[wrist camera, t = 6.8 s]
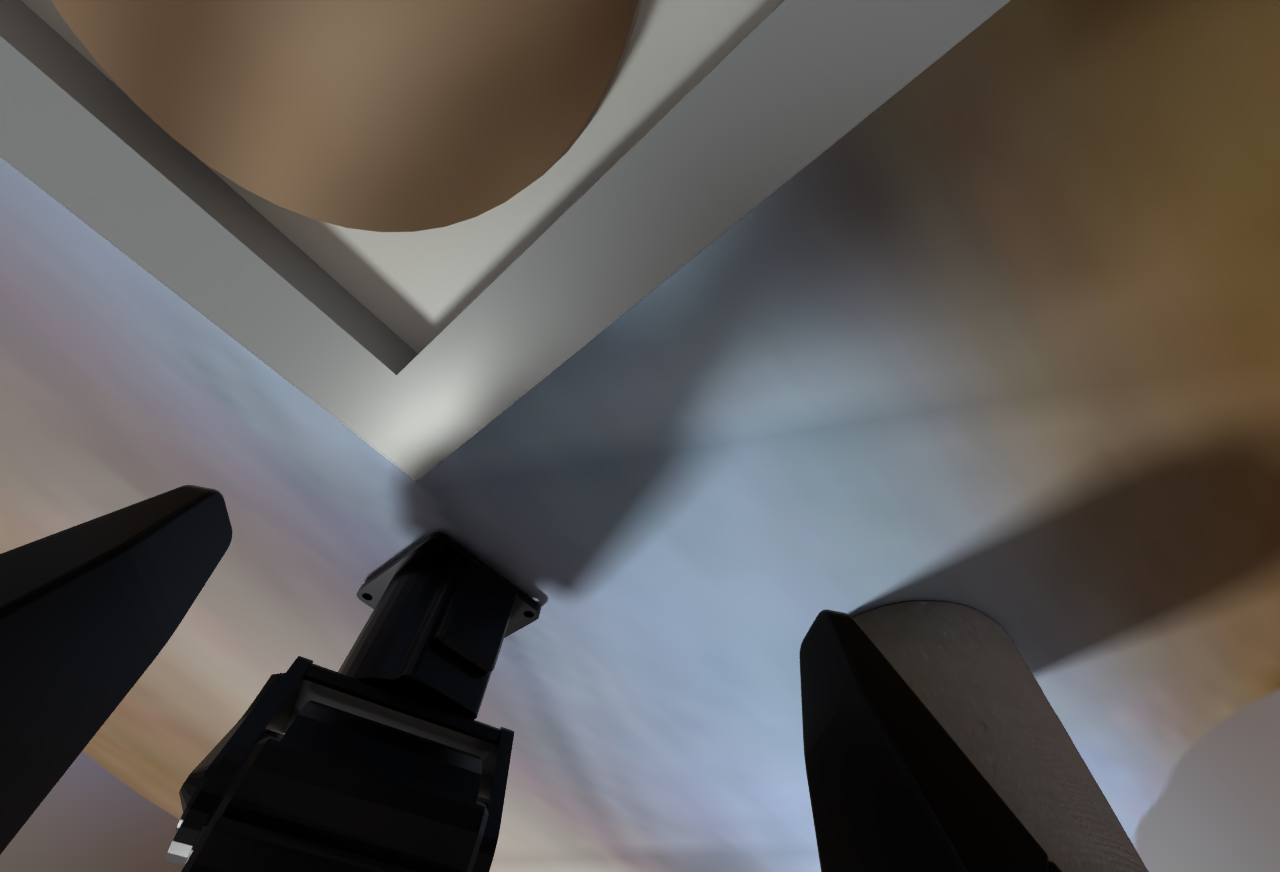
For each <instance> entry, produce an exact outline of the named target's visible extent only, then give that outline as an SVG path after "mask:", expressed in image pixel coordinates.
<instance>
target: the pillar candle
mask: <svg viewBox="0 0 1280 872" xmlns="http://www.w3.org/2000/svg"><path fill="white" fill-rule="evenodd" d="M853 619H854V620H855V621H856V622H857V623H858V625H859V626H860V627H861V628H862V629H863V631H864V632H865V633H866V634H867V636H868V637H869V638H870V639H871V640H872V642H873V643H874V644H875V645H876V646H877V648H878V649H879V650H880V651H881V653H882V654H883V655H884V656H885V657H886V659H887V660H888V661H889V662H890V663H891V665H892V666H893V667H894V668H895V670H896V671H897V672H898V673H899V674H900V676H901V677H902V678H903V679H904V680H905V682H906V683H907V684H908V685H909V687H910V688H911V689H912V690H913V691H914V693H915V694H916V695H917V696H918V697H919V699H920V700H921V701H922V702H923V704H924V705H925V706H926V707H927V708H928V710H929V711H930V712H931V713H932V714H933V716H934V717H935V718H936V719H937V721H938V722H939V723H940V724H941V725H942V727H943V728H944V729H945V730H946V731H947V733H948V734H949V735H950V736H951V738H952V739H953V740H954V741H955V742H956V744H957V745H958V746H959V747H960V748H961V750H962V751H963V752H964V753H965V755H966V756H967V757H968V758H969V759H970V761H971V762H972V763H973V764H974V766H975V767H976V768H977V769H978V770H979V772H980V773H981V774H982V775H983V776H984V778H985V779H986V780H987V781H988V783H989V784H990V785H991V786H992V787H993V789H994V790H995V791H996V792H997V793H998V795H999V796H1000V797H1001V798H1002V800H1003V801H1004V802H1005V803H1006V804H1007V806H1008V807H1009V808H1010V809H1011V810H1012V812H1013V813H1014V814H1015V815H1016V817H1017V818H1018V819H1019V820H1020V821H1021V823H1022V824H1023V825H1024V826H1025V827H1026V829H1027V830H1028V831H1029V832H1030V834H1031V835H1032V836H1033V837H1034V838H1035V840H1036V841H1037V842H1038V843H1039V844H1040V846H1041V847H1042V848H1043V849H1044V851H1045V852H1046V853H1047V855H1048V858H1049V861H1053V862H1054V863H1055V864H1056V865H1057V866H1058V867H1059V868H1060V870H1061V871H1062V872H1149V871H1148V870H1147V868H1146V867H1145V865H1144V863H1143V861H1142V860H1141V858H1140V856H1139V854H1138V853H1137V851H1136V849H1135V848H1134V846H1133V844H1132V843H1131V841H1130V839H1129V838H1128V836H1127V834H1126V832H1125V831H1124V829H1123V827H1122V825H1121V824H1120V822H1119V820H1118V818H1117V817H1116V815H1115V813H1114V812H1113V810H1112V808H1111V806H1110V805H1109V803H1108V801H1107V799H1106V798H1105V796H1104V794H1103V793H1102V791H1101V789H1100V788H1099V786H1098V784H1097V783H1096V781H1095V779H1094V778H1093V776H1092V774H1091V772H1090V771H1089V769H1088V767H1087V766H1086V764H1085V762H1084V760H1083V759H1082V757H1081V755H1080V754H1079V752H1078V751H1077V749H1076V747H1075V745H1074V744H1073V742H1072V740H1071V738H1070V736H1069V735H1068V733H1067V731H1066V730H1065V728H1064V726H1063V725H1062V723H1061V721H1060V719H1059V718H1058V716H1057V715H1056V713H1055V712H1054V710H1053V708H1052V707H1051V705H1050V703H1049V702H1048V700H1047V698H1046V697H1045V695H1044V693H1043V691H1042V689H1041V687H1040V686H1039V684H1038V682H1037V681H1036V679H1035V677H1034V676H1033V674H1032V673H1031V672H1030V670H1029V669H1028V667H1027V665H1026V664H1025V662H1024V660H1023V658H1022V657H1021V655H1020V653H1019V651H1018V649H1017V647H1016V645H1015V643H1014V642H1013V640H1012V639H1011V638H1010V636H1009V635H1008V634H1007V633H1006V632H1005V630H1004V629H1003V628H1002V627H1001V626H1000V625H999V624H997V623H996V622H995V621H993V620H992V619H990V618H988V617H987V616H985V615H984V614H982V613H981V612H979V611H977V610H974V609H972V608H970V607H967V606H963V605H960V604H955V603H950V602H941V601H910V602H902V603H898V604H893V605H888V606H883V607H880V608H878V609H876V610H871V611H868V612H866V613H863V614H860V615H857V616H855V617H853Z"/></svg>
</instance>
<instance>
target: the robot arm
mask: <svg viewBox="0 0 1280 872" xmlns="http://www.w3.org/2000/svg"><path fill="white" fill-rule="evenodd" d="M231 539H232V527H231V523H230V520H229V516H228V512H227V508H226V505H225V501H224V498H223V495H222V494H221V493H220V492H219V491H217V490H215V489H210V488H205V487H200V486H194V485H186V486H182V487H179V488H176V489H173V490H171V491H168V492H165V493H163V494H160V495H157V496H155V497H152V498H149V499H147V500H144V501H141V502H139V503H136V504H133V505H130V506H128V507H125V508H122V509H120V510H117V511H114V512H112V513H109V514H106V515H104V516H101V517H98V518H96V519H93V520H90V521H88V522H85V523H82V524H80V525H77V526H74V527H72V528H69V529H66V530H64V531H61V532H58V533H55V534H53V535H50V536H47V537H45V538H42V539H39V540H37V541H34V542H31V543H29V544H26V545H23V546H21V547H18V548H15V549H13V550H10V551H7V552H5V553H2V554H0V854H1V853H2V852H3V851H4V849H5V848H6V847H7V845H8V844H9V842H11V840H12V839H13V838H14V837H15V835H16V834H17V833H18V831H19V830H20V829H21V828H22V826H23V825H24V824H25V822H26V821H27V820H28V819H29V817H30V816H31V815H32V814H33V812H34V811H35V810H36V809H37V807H38V806H39V805H40V803H41V802H42V801H43V800H44V798H45V797H46V796H47V795H48V793H49V792H50V791H51V789H52V788H53V787H54V786H55V785H56V783H57V782H58V781H59V779H60V778H61V777H62V776H63V774H64V773H65V772H66V771H67V769H68V768H69V767H70V765H71V764H72V763H73V762H74V760H75V759H76V758H77V757H78V755H79V754H80V753H81V752H82V750H83V749H84V748H85V746H86V745H87V744H88V743H89V741H90V740H91V739H92V738H93V736H94V735H95V734H96V733H97V731H98V730H99V729H100V727H101V726H102V725H103V724H104V722H105V721H106V720H107V719H108V717H109V716H110V715H111V714H112V712H113V711H114V710H115V708H116V707H117V706H118V705H119V703H120V702H121V701H122V700H123V698H124V697H125V696H126V694H127V693H128V692H129V691H130V689H131V688H132V687H133V686H134V684H135V683H136V682H137V681H138V679H139V678H140V677H141V675H142V674H143V673H144V672H145V670H146V669H147V668H148V667H149V665H150V664H151V663H152V662H153V660H154V659H155V658H156V656H157V655H158V654H159V652H160V651H161V650H162V648H163V647H164V646H165V644H166V643H167V642H168V640H169V639H170V637H171V636H172V634H173V633H174V631H175V630H176V629H177V627H178V626H179V624H180V622H181V621H182V619H183V618H184V616H185V615H186V613H187V612H188V610H189V608H190V607H191V605H192V604H193V602H194V601H195V599H196V597H197V596H198V594H199V593H200V591H201V590H202V588H203V587H204V585H205V583H206V582H207V580H208V579H209V577H210V576H211V574H212V572H213V571H214V569H215V568H216V566H217V565H218V563H219V561H220V560H221V558H222V557H223V555H224V554H225V552H226V551H227V549H228V547H229V545H230V542H231ZM438 543H439V544H438ZM357 597H358V598H359V599H360V600H361V601H362V602H364V603H365V604H367V605H368V606H370V607H372V608H373V609H374V611H373V612H372V614H371V616H370V618H369V619H368V621H367V623H366V625H365V626H364V628H363V630H362V631H361V633H360V635H359V637H358V638H357V640H356V642H355V643H354V645H353V647H352V649H351V650H350V652H349V654H348V656H347V657H346V659H345V661H344V662H343V664H342V666H341V668H340V669H339V671H338V672H335V671H332V670H329V669H327V668H324V667H321V666H318V665H315V664H312V663H313V661H312V660H309V659H306V658H303V657H301V656H298V658H297V659H296V660H295V661H294V663H293V664H292V665H291V667H290V668H289V669H288V671H287V672H286V673H280V674H273V675H271V677H270V678H269V680H268V681H267V683H266V684H265V686H264V687H263V688H262V690H261V691H260V693H259V694H258V696H257V697H256V699H255V700H254V701H253V703H252V704H251V706H250V707H249V709H248V710H247V711H246V713H245V714H244V715H243V716H242V718H241V719H240V720H239V721H238V722H237V724H236V725H235V726H234V727H233V728H232V729H231V730H230V731H229V732H228V733H227V734H226V736H225V737H224V738H223V739H222V740H221V741H220V742H219V743H218V744H217V745H216V746H215V748H214V749H213V750H212V751H211V752H210V753H209V754H208V755H207V756H206V757H205V758H204V759H203V761H202V762H201V763H200V764H199V765H198V766H197V767H196V768H195V769H194V770H193V771H192V773H191V774H190V775H189V776H188V778H187V779H186V781H185V782H184V784H183V786H182V788H181V789H180V792H179V794H180V799H181V804H182V809H183V815H182V817H181V819H180V821H179V823H178V826H177V829H176V831H177V833H176V835H175V837H174V839H173V841H172V844H171V846H170V848H169V850H168V853H167V856H166V863H170V864H174V865H178V866H181V867H184V868H183V869H182V871H181V872H489V870H490V867H491V863H492V860H493V857H494V853H495V849H496V844H497V840H498V835H499V830H500V824H501V817H502V811H503V804H504V797H505V790H506V784H507V777H508V770H509V764H510V757H511V750H512V744H513V737H514V731H512V730H509V729H506V728H503V727H501V728H500V729H498V728H495V727H492V726H490V725H487V724H484V723H481V722H478V721H475V720H474V719H476V718H477V715H478V712H479V709H480V706H481V703H482V700H483V697H484V693H485V690H486V687H487V684H488V681H489V678H490V675H491V672H492V671H493V669H494V667H495V664H496V661H497V658H498V655H499V652H500V649H501V645H502V642H503V639H504V638H505V637H507V636H508V635H510V634H512V633H514V632H516V631H517V630H519V629H521V628H523V627H524V626H526V625H528V624H530V623H532V622H533V621H535V620H537V619H538V618H539V614H540V610H541V607H540V605H539V604H538V603H537V602H535V601H534V600H533V599H531V598H530V597H529V596H527V595H526V594H525V593H523V592H522V591H521V590H519V589H518V588H517V587H515V586H514V585H513V584H511V583H510V582H509V581H507V580H506V579H505V578H503V577H502V576H501V575H499V574H498V573H497V572H495V571H494V570H493V569H491V568H490V567H489V566H487V565H486V564H485V563H483V562H482V561H481V560H480V559H478V558H477V557H476V556H474V555H473V554H472V553H470V552H469V551H468V550H466V549H465V548H464V547H462V546H461V545H460V544H458V543H457V542H456V541H454V540H453V539H452V538H450V537H449V536H448V535H446V534H444V533H441V532H435V533H432V534H431V535H429V536H428V537H427V538H425V539H424V540H423V541H421V542H420V543H419V544H417V545H416V546H414V547H413V548H412V549H410V550H409V551H408V552H406V553H405V554H404V555H402V556H401V557H399V558H398V559H397V560H395V561H394V562H393V563H391V564H390V565H389V566H387V567H386V568H384V569H383V570H382V571H380V572H379V573H378V574H376V575H375V576H374V577H372V578H371V579H369V580H368V581H367V582H365V583H364V584H363V585H362V586H361V587H360V589H359V591H358V592H357ZM800 675H801V697H802V720H803V741H804V756H805V764H806V772H807V779H808V786H809V792H810V799H811V806H812V812H813V819H814V826H815V832H816V839H817V846H818V852H819V859H820V866H821V872H1062V871H1061V870H1060V868H1059V867H1058V866H1057V865H1056V864H1055V863H1054V862H1053V861H1049V858H1048V855H1047V853H1046V852H1045V851H1044V849H1043V848H1042V847H1041V846H1040V844H1039V843H1038V842H1037V841H1036V840H1035V838H1034V837H1033V836H1032V835H1031V834H1030V832H1029V831H1028V830H1027V829H1026V827H1025V826H1024V825H1023V824H1022V823H1021V821H1020V820H1019V819H1018V818H1017V817H1016V815H1015V814H1014V813H1013V812H1012V810H1011V809H1010V808H1009V807H1008V806H1007V804H1006V803H1005V802H1004V801H1003V800H1002V798H1001V797H1000V796H999V795H998V793H997V792H996V791H995V790H994V789H993V787H992V786H991V785H990V784H989V783H988V781H987V780H986V779H985V778H984V776H983V775H982V774H981V773H980V772H979V770H978V769H977V768H976V767H975V766H974V764H973V763H972V762H971V761H970V759H969V758H968V757H967V756H966V755H965V753H964V752H963V751H962V750H961V748H960V747H959V746H958V745H957V744H956V742H955V741H954V740H953V739H952V738H951V736H950V735H949V734H948V733H947V731H946V730H945V729H944V728H943V727H942V725H941V724H940V723H939V722H938V721H937V719H936V718H935V717H934V716H933V714H932V713H931V712H930V711H929V710H928V708H927V707H926V706H925V705H924V704H923V702H922V701H921V700H920V699H919V697H918V696H917V695H916V694H915V693H914V691H913V690H912V689H911V688H910V687H909V685H908V684H907V683H906V682H905V680H904V679H903V678H902V677H901V676H900V674H899V673H898V672H897V671H896V670H895V668H894V667H893V666H892V665H891V663H890V662H889V661H888V660H887V659H886V657H885V656H884V655H883V654H882V653H881V651H880V650H879V649H878V648H877V646H876V645H875V644H874V643H873V642H872V640H871V639H870V638H869V637H868V636H867V634H866V633H865V632H864V631H863V629H862V628H861V627H860V626H859V625H858V623H857V622H856V621H855V620H854V619H853V618H852V617H851V616H850V615H848V614H846V613H842V612H836V611H831V610H823V611H821V612H820V613H819V614H818V616H817V617H816V619H815V621H814V622H813V624H812V626H811V627H810V629H809V631H808V633H807V634H806V636H805V638H804V639H803V642H802V644H801V648H800ZM284 733H285V734H284Z"/></svg>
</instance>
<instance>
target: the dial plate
mask: <svg viewBox="0 0 1280 872" xmlns="http://www.w3.org/2000/svg"><path fill="white" fill-rule="evenodd" d="M1009 1H1011V0H642V1H641V6H640V9H639V12H638V16H637V19H636V22H635V25H634V29H633V32H632V35H631V39H630V42H629V45H628V49H627V51H626V53H625V56H624V58H623V60H622V63H621V65H620V67H619V70H618V72H617V74H616V77H615V79H614V81H613V84H612V86H611V88H610V90H609V92H608V93H607V95H606V97H605V99H604V100H603V102H602V104H601V105H600V107H599V109H598V111H597V112H596V114H595V116H594V117H593V119H592V121H591V122H590V124H589V125H588V126H587V128H586V129H585V130H584V131H583V133H582V134H581V135H580V137H579V138H578V139H577V140H576V142H575V143H574V144H573V146H572V147H571V148H570V149H569V151H568V152H567V153H566V154H565V155H564V156H563V157H562V158H561V159H560V160H559V161H557V162H556V163H555V164H554V165H553V166H552V167H551V168H550V169H549V170H548V171H547V172H546V173H545V174H544V175H543V176H541V177H540V178H539V179H537V180H536V181H535V182H533V183H532V184H530V185H529V186H528V187H526V188H525V189H523V190H522V191H521V192H519V193H518V194H516V195H515V196H513V197H512V198H511V199H509V200H508V201H506V202H505V203H503V204H501V205H499V206H497V207H495V208H493V209H491V210H489V211H487V212H485V213H483V214H481V215H479V216H477V217H474V218H471V219H468V220H465V221H462V222H459V223H456V224H452V225H449V226H446V227H441V228H434V229H428V230H422V231H415V232H375V231H367V230H360V229H352V228H345V227H342V226H338V225H334V224H330V223H326V222H322V221H318V220H314V219H311V218H309V217H306V216H303V215H301V214H298V213H296V212H293V211H290V210H288V209H285V208H283V207H280V206H277V205H276V204H274V203H272V202H270V201H268V200H266V199H264V198H262V197H260V196H258V195H256V194H254V193H252V192H250V191H248V190H246V189H244V188H242V187H241V186H239V185H238V184H236V183H235V182H233V181H231V180H230V179H228V178H227V177H225V176H224V175H222V174H221V173H219V172H217V171H216V170H214V169H213V168H211V167H210V166H208V165H207V164H205V163H204V162H203V161H201V160H200V159H199V158H198V157H196V156H195V155H194V154H192V153H191V152H190V151H189V150H187V149H186V148H185V147H183V146H182V145H181V144H180V143H178V142H177V141H176V140H174V139H173V138H172V137H171V136H170V135H169V134H167V133H166V132H165V131H164V130H163V129H162V128H161V127H160V126H159V125H158V124H157V123H155V122H154V121H153V120H152V119H151V118H150V117H149V116H148V115H147V114H146V113H145V112H144V111H142V110H141V109H140V108H139V107H138V106H137V105H136V104H135V103H134V102H133V101H132V100H131V99H130V98H129V97H128V95H127V94H126V93H125V92H124V91H123V90H122V89H121V88H120V87H119V86H118V85H117V84H116V82H115V81H114V80H113V79H112V78H111V77H110V76H109V75H108V74H107V73H106V72H105V71H104V70H103V68H102V67H101V66H100V65H99V64H98V63H97V61H96V60H95V59H94V58H93V56H92V55H91V54H90V52H89V51H88V50H87V49H86V47H85V46H84V45H83V44H82V42H81V41H80V40H79V39H78V37H77V36H76V35H75V34H74V32H73V31H72V30H71V29H70V27H69V26H68V25H67V24H66V22H65V21H64V19H63V18H62V16H61V15H60V13H59V12H58V11H57V9H56V8H55V6H54V5H53V3H52V2H51V0H0V157H1V158H2V159H4V160H5V161H6V162H8V163H9V164H10V165H11V166H13V167H14V168H15V169H17V170H18V171H19V172H20V173H22V174H23V175H24V176H25V177H27V178H28V179H29V180H31V181H32V182H33V183H34V184H36V185H37V186H38V187H40V188H41V189H42V190H43V191H45V192H46V193H47V194H49V195H50V196H51V197H52V198H54V199H55V200H56V201H58V202H59V203H60V204H61V205H63V206H64V207H65V208H66V209H68V210H69V211H70V212H72V213H73V214H74V215H75V216H77V217H78V218H79V219H81V220H82V221H83V222H84V223H86V224H87V225H88V226H90V227H91V228H92V229H93V230H95V231H96V232H97V233H99V234H100V235H101V236H102V237H104V238H105V239H106V240H107V241H109V242H110V243H111V244H113V245H114V246H115V247H116V248H118V249H119V250H120V251H122V252H123V253H124V254H125V255H127V256H128V257H129V258H131V259H132V260H133V261H134V262H136V263H137V264H138V265H140V266H141V267H142V268H143V269H145V270H146V271H147V272H148V273H150V274H151V275H152V276H154V277H155V278H156V279H157V280H159V281H160V282H161V283H163V284H164V285H165V286H166V287H168V288H169V289H170V290H172V291H173V292H174V293H175V294H177V295H178V296H179V297H181V298H182V299H183V300H184V301H186V302H187V303H188V304H190V305H191V306H192V307H193V308H195V309H196V310H197V311H198V312H200V313H201V314H202V315H204V316H205V317H206V318H207V319H209V320H210V321H211V322H213V323H214V324H215V325H216V326H218V327H219V328H220V329H222V330H223V331H224V332H225V333H227V334H228V335H229V336H231V337H232V338H233V339H234V340H236V341H237V342H238V343H239V344H241V345H242V346H243V347H245V348H246V349H247V350H248V351H250V352H251V353H252V354H254V355H255V356H256V357H257V358H259V359H260V360H261V361H263V362H264V363H265V364H266V365H268V366H269V367H270V368H272V369H273V370H274V371H275V372H277V373H278V374H279V375H280V376H282V377H283V378H284V379H286V380H287V381H288V382H289V383H291V384H292V385H293V386H295V387H296V388H297V389H298V390H300V391H301V392H302V393H304V394H305V395H306V396H307V397H309V398H310V399H311V400H313V401H314V402H315V403H316V404H318V405H319V406H320V407H321V408H323V409H324V410H325V411H327V412H328V413H329V414H330V415H332V416H333V417H334V418H336V419H337V420H338V421H339V422H341V423H342V424H343V425H345V426H346V427H347V428H348V429H350V430H351V431H352V432H354V433H355V434H356V435H357V436H359V437H360V438H361V439H362V440H364V441H365V442H366V443H368V444H369V445H370V446H371V447H373V448H374V449H375V450H377V451H378V452H379V453H380V454H382V455H383V456H384V457H386V458H387V459H388V460H389V461H391V462H392V463H393V464H395V465H396V466H397V467H398V468H400V469H401V470H402V471H403V472H405V473H406V474H407V475H409V476H410V477H411V478H412V479H414V480H415V481H416V482H417V481H418V480H420V479H421V478H422V477H423V476H425V475H426V474H427V473H428V472H430V471H431V470H432V469H433V468H435V467H436V466H437V465H438V464H439V463H441V462H442V461H443V460H444V459H446V458H447V457H448V456H449V455H451V454H452V453H453V452H454V451H455V450H457V449H458V448H459V447H460V446H462V445H463V444H464V443H465V442H467V441H468V440H469V439H470V438H472V437H473V436H474V435H475V434H476V433H478V432H479V431H480V430H481V429H483V428H484V427H485V426H486V425H488V424H489V423H490V422H491V421H492V420H494V419H495V418H496V417H497V416H499V415H500V414H501V413H502V412H504V411H505V410H506V409H507V408H509V407H510V406H511V405H512V404H513V403H515V402H516V401H517V400H518V399H520V398H521V397H522V396H523V395H525V394H526V393H527V392H528V391H529V390H531V389H532V388H533V387H534V386H536V385H537V384H538V383H539V382H541V381H542V380H543V379H544V378H546V377H547V376H548V375H549V374H550V373H552V372H553V371H554V370H555V369H557V368H558V367H559V366H560V365H562V364H563V363H564V362H565V361H566V360H568V359H569V358H570V357H571V356H573V355H574V354H575V353H576V352H578V351H579V350H580V349H581V348H583V347H584V346H585V345H586V344H587V343H589V342H590V341H591V340H592V339H594V338H595V337H596V336H597V335H599V334H600V333H601V332H602V331H603V330H605V329H606V328H607V327H608V326H610V325H611V324H612V323H613V322H615V321H616V320H617V319H618V318H620V317H621V316H622V315H623V314H624V313H626V312H627V311H628V310H629V309H631V308H632V307H633V306H634V305H636V304H637V303H638V302H639V301H640V300H642V299H643V298H644V297H645V296H647V295H648V294H649V293H650V292H652V291H653V290H654V289H655V288H657V287H658V286H659V285H660V284H661V283H663V282H664V281H665V280H666V279H668V278H669V277H670V276H671V275H673V274H674V273H675V272H676V271H678V270H679V269H680V268H681V267H682V266H684V265H685V264H686V263H687V262H689V261H690V260H691V259H692V258H694V257H695V256H696V255H697V254H698V253H700V252H701V251H702V250H703V249H705V248H706V247H707V246H708V245H710V244H711V243H712V242H713V241H715V240H716V239H717V238H718V237H719V236H721V235H722V234H723V233H724V232H726V231H727V230H728V229H729V228H731V227H732V226H733V225H734V224H735V223H737V222H738V221H739V220H740V219H742V218H743V217H744V216H745V215H747V214H748V213H749V212H750V211H752V210H753V209H754V208H755V207H756V206H758V205H759V204H760V203H761V202H763V201H764V200H765V199H766V198H768V197H769V196H770V195H771V194H772V193H774V192H775V191H776V190H777V189H779V188H780V187H781V186H782V185H784V184H785V183H786V182H787V181H789V180H790V179H791V178H792V177H793V176H795V175H796V174H797V173H798V172H800V171H801V170H802V169H803V168H805V167H806V166H807V165H808V164H809V163H811V162H812V161H813V160H814V159H816V158H817V157H818V156H819V155H821V154H822V153H823V152H824V151H826V150H827V149H828V148H829V147H830V146H832V145H833V144H834V143H835V142H837V141H838V140H839V139H840V138H842V137H843V136H844V135H845V134H846V133H848V132H849V131H850V130H851V129H853V128H854V127H855V126H856V125H858V124H859V123H860V122H861V121H863V120H864V119H865V118H866V117H867V116H869V115H870V114H871V113H872V112H874V111H875V110H876V109H877V108H879V107H880V106H881V105H882V104H883V103H885V102H886V101H887V100H888V99H890V98H891V97H892V96H893V95H895V94H896V93H897V92H898V91H900V90H901V89H902V88H903V87H904V86H906V85H907V84H908V83H909V82H911V81H912V80H913V79H914V78H916V77H917V76H918V75H919V74H920V73H922V72H923V71H924V70H925V69H927V68H928V67H929V66H930V65H932V64H933V63H934V62H935V61H937V60H938V59H939V58H940V57H941V56H943V55H944V54H945V53H946V52H948V51H949V50H950V49H951V48H953V47H954V46H955V45H956V44H957V43H959V42H960V41H961V40H962V39H964V38H965V37H966V36H967V35H969V34H970V33H971V32H972V31H974V30H975V29H976V28H977V27H978V26H980V25H981V24H982V23H983V22H985V21H986V20H987V19H988V18H990V17H991V16H992V15H993V14H994V13H996V12H997V11H998V10H999V9H1001V8H1002V7H1003V6H1004V5H1006V4H1007V3H1008V2H1009Z"/></svg>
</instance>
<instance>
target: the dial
mask: <svg viewBox="0 0 1280 872" xmlns="http://www.w3.org/2000/svg"><path fill="white" fill-rule="evenodd" d="M641 1H642V0H51V2H52V3H53V5H54V6H55V8H56V9H57V11H58V12H59V13H60V15H61V16H62V18H63V19H64V21H65V22H66V24H67V25H68V26H69V27H70V29H71V30H72V31H73V32H74V34H75V35H76V36H77V37H78V39H79V40H80V41H81V42H82V44H83V45H84V46H85V47H86V49H87V50H88V51H89V52H90V54H91V55H92V56H93V58H94V59H95V60H96V61H97V63H98V64H99V65H100V66H101V67H102V68H103V70H104V71H105V72H106V73H107V74H108V75H109V76H110V77H111V78H112V79H113V80H114V81H115V82H116V84H117V85H118V86H119V87H120V88H121V89H122V90H123V91H124V92H125V93H126V94H127V95H128V97H129V98H130V99H131V100H132V101H133V102H134V103H135V104H136V105H137V106H138V107H139V108H140V109H141V110H142V111H144V112H145V113H146V114H147V115H148V116H149V117H150V118H151V119H152V120H153V121H154V122H155V123H157V124H158V125H159V126H160V127H161V128H162V129H163V130H164V131H165V132H166V133H167V134H169V135H170V136H171V137H172V138H173V139H174V140H176V141H177V142H178V143H180V144H181V145H182V146H183V147H185V148H186V149H187V150H189V151H190V152H191V153H192V154H194V155H195V156H196V157H198V158H199V159H200V160H201V161H203V162H204V163H205V164H207V165H208V166H210V167H211V168H213V169H214V170H216V171H217V172H219V173H221V174H222V175H224V176H225V177H227V178H228V179H230V180H231V181H233V182H235V183H236V184H238V185H239V186H241V187H242V188H244V189H246V190H248V191H250V192H252V193H254V194H256V195H258V196H260V197H262V198H264V199H266V200H268V201H270V202H272V203H274V204H276V205H277V206H280V207H283V208H285V209H288V210H290V211H293V212H296V213H298V214H301V215H303V216H306V217H309V218H311V219H314V220H318V221H322V222H326V223H330V224H334V225H338V226H342V227H345V228H352V229H360V230H367V231H375V232H415V231H422V230H428V229H434V228H441V227H446V226H449V225H452V224H456V223H459V222H462V221H465V220H468V219H471V218H474V217H477V216H479V215H481V214H483V213H485V212H487V211H489V210H491V209H493V208H495V207H497V206H499V205H501V204H503V203H505V202H506V201H508V200H509V199H511V198H512V197H513V196H515V195H516V194H518V193H519V192H521V191H522V190H523V189H525V188H526V187H528V186H529V185H530V184H532V183H533V182H535V181H536V180H537V179H539V178H540V177H541V176H543V175H544V174H545V173H546V172H547V171H548V170H549V169H550V168H551V167H552V166H553V165H554V164H555V163H556V162H557V161H559V160H560V159H561V158H562V157H563V156H564V155H565V154H566V153H567V152H568V151H569V149H570V148H571V147H572V146H573V144H574V143H575V142H576V140H577V139H578V138H579V137H580V135H581V134H582V133H583V131H584V130H585V129H586V128H587V126H588V125H589V124H590V122H591V121H592V119H593V117H594V116H595V114H596V112H597V111H598V109H599V107H600V105H601V104H602V102H603V100H604V99H605V97H606V95H607V93H608V92H609V90H610V88H611V86H612V84H613V81H614V79H615V77H616V74H617V72H618V70H619V67H620V65H621V63H622V60H623V58H624V56H625V53H626V51H627V49H628V45H629V42H630V39H631V35H632V32H633V29H634V25H635V22H636V19H637V16H638V12H639V9H640V6H641Z"/></svg>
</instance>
